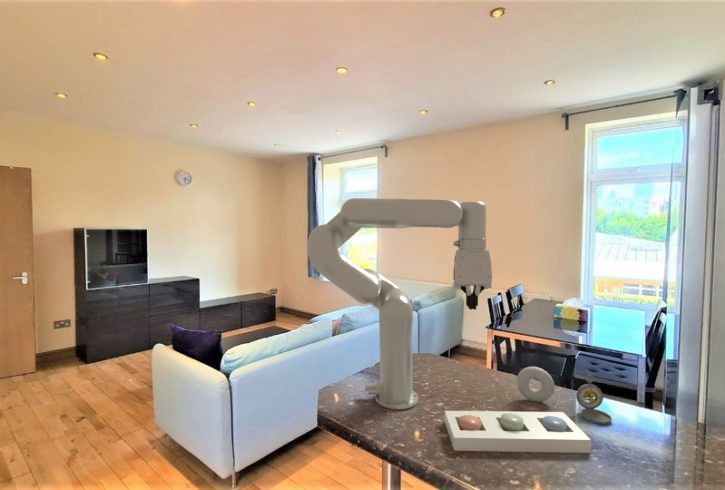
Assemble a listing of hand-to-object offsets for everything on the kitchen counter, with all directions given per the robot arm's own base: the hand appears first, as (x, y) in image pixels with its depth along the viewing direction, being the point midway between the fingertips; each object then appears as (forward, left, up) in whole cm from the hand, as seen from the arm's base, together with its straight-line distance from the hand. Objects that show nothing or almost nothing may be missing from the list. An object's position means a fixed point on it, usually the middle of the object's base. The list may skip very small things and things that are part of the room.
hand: (472, 308), depth 103 cm
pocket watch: (+30, -8, -27) cm, 41 cm away
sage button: (+5, -18, -25) cm, 31 cm away
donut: (+18, 0, -27) cm, 33 cm away
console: (+5, -18, -27) cm, 33 cm away
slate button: (+15, -18, -25) cm, 34 cm away
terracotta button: (-5, -18, -25) cm, 31 cm away
